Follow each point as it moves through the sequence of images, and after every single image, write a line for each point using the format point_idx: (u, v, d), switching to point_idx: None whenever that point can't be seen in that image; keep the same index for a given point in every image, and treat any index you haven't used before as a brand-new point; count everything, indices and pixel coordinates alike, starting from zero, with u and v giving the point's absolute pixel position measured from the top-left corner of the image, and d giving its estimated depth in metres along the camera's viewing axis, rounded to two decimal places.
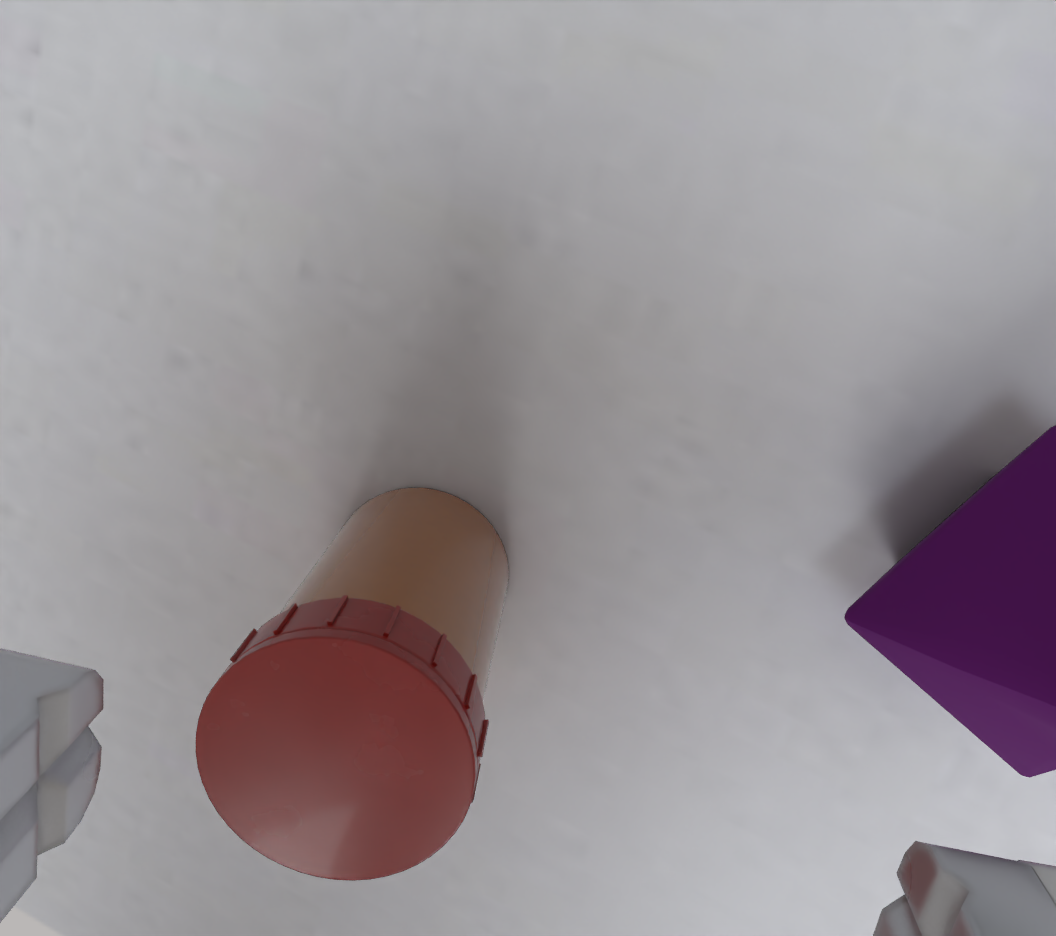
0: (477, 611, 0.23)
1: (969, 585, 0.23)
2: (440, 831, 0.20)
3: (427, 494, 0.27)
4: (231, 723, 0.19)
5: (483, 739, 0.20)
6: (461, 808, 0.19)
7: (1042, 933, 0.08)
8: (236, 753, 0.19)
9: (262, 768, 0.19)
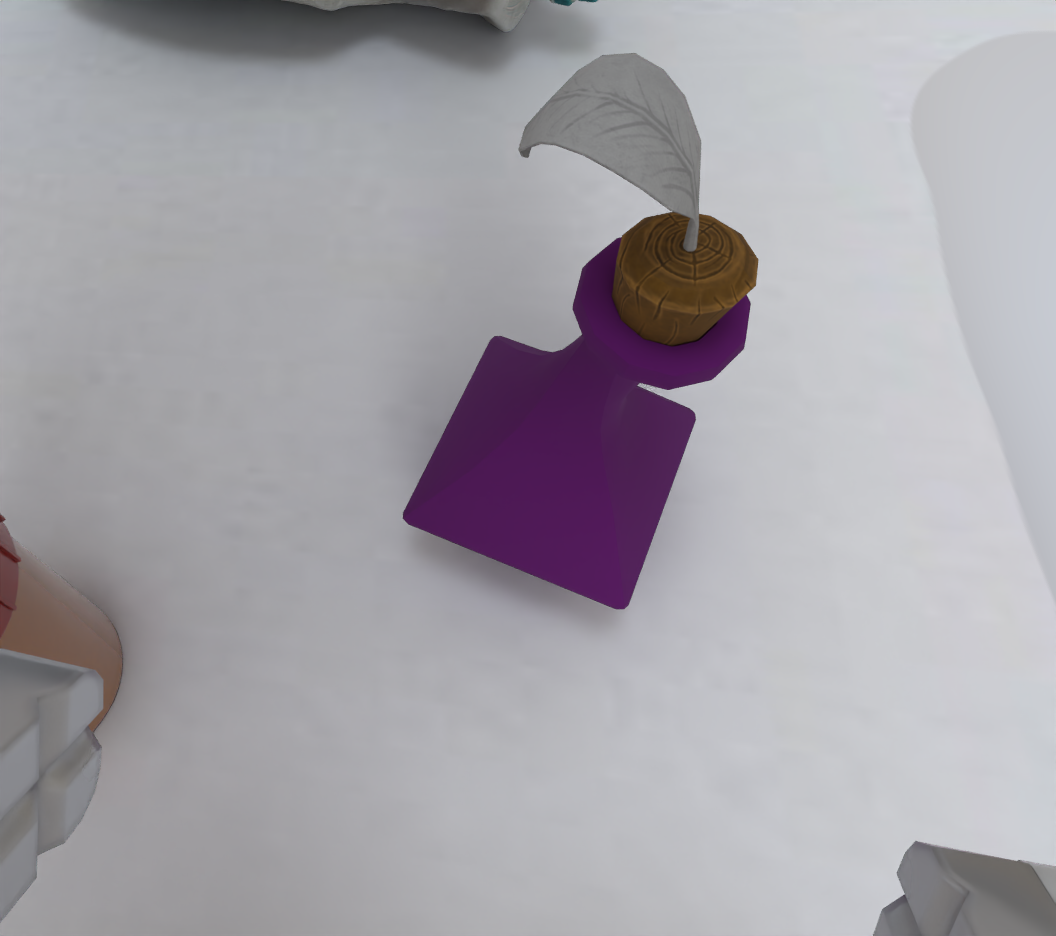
0: (39, 560, 0.25)
1: (464, 428, 0.28)
2: None
3: None
4: None
5: (5, 546, 0.21)
6: None
7: (1042, 933, 0.08)
8: None
9: None
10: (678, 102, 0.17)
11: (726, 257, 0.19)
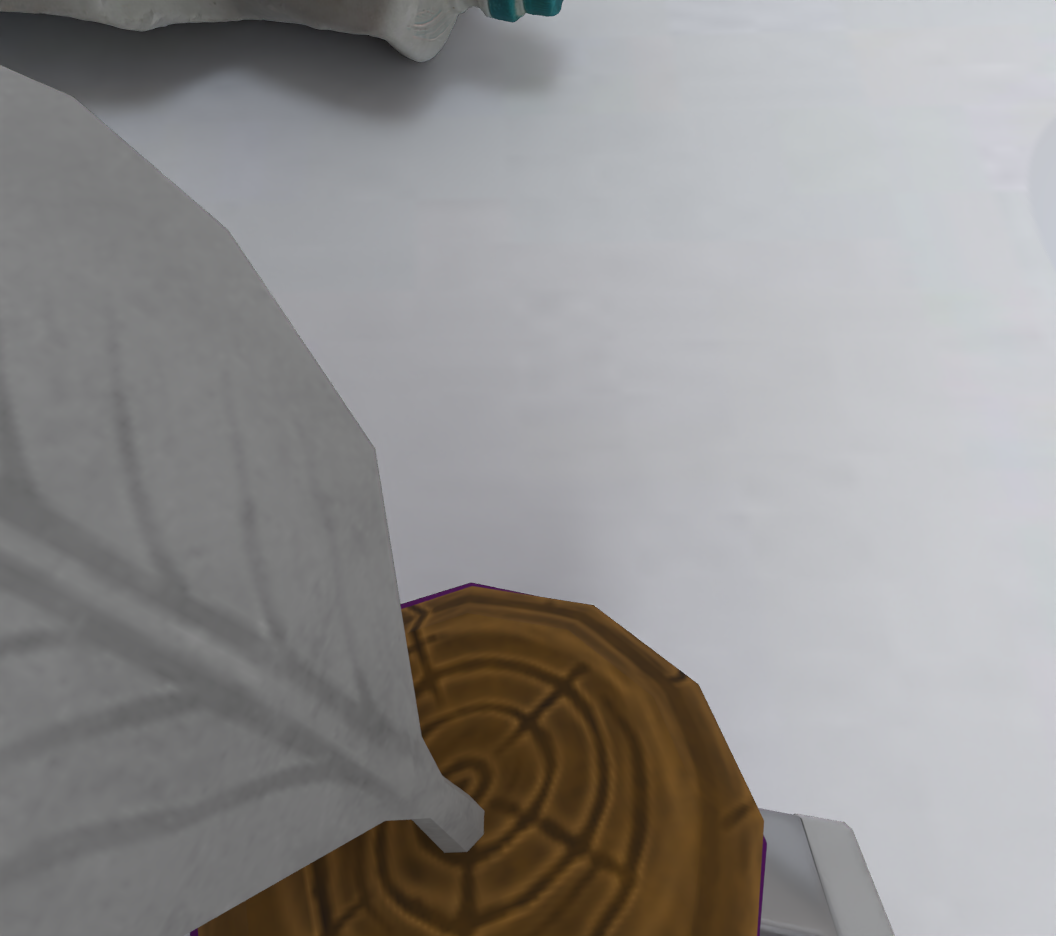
0: None
1: None
2: None
3: None
4: None
5: None
6: None
7: (788, 880, 0.08)
8: None
9: None
10: (175, 269, 0.03)
11: (611, 875, 0.04)
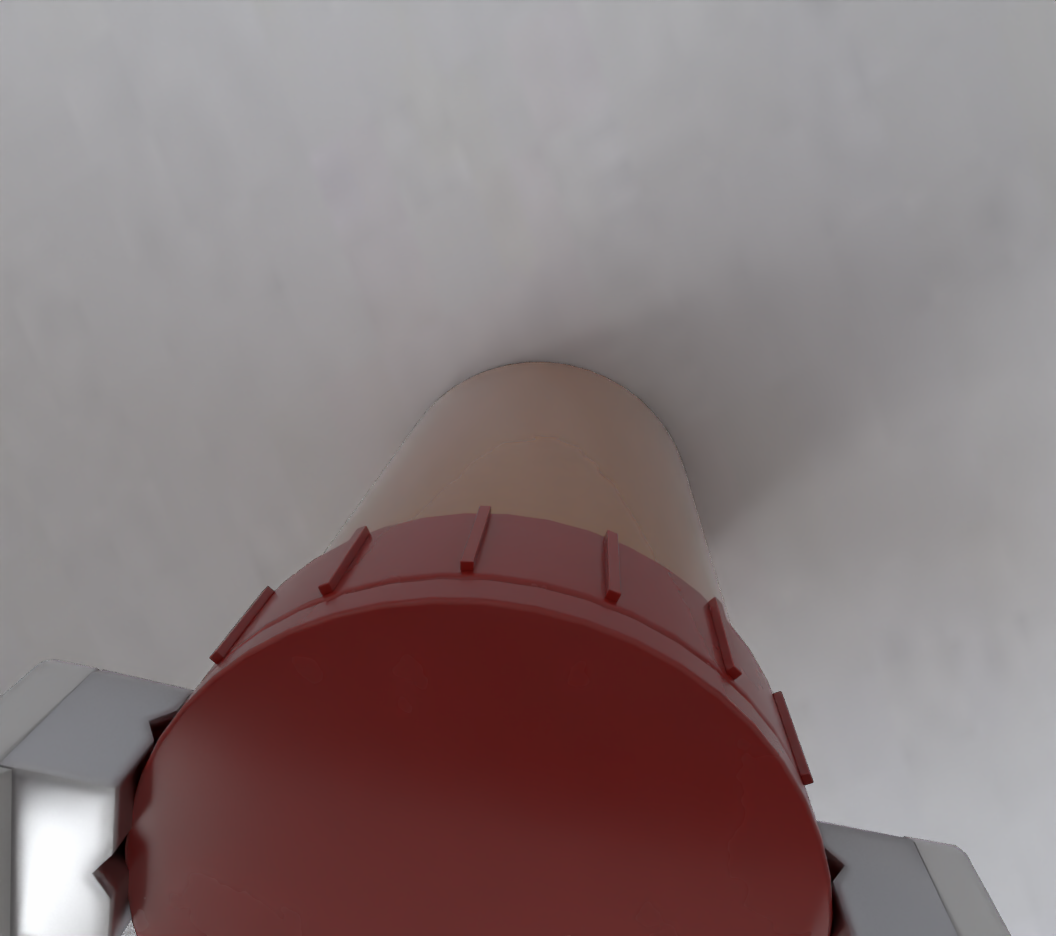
0: None
1: None
2: None
3: (665, 433, 0.16)
4: (354, 695, 0.07)
5: None
6: None
7: (913, 906, 0.08)
8: (298, 752, 0.07)
9: (317, 818, 0.07)
10: None
11: None
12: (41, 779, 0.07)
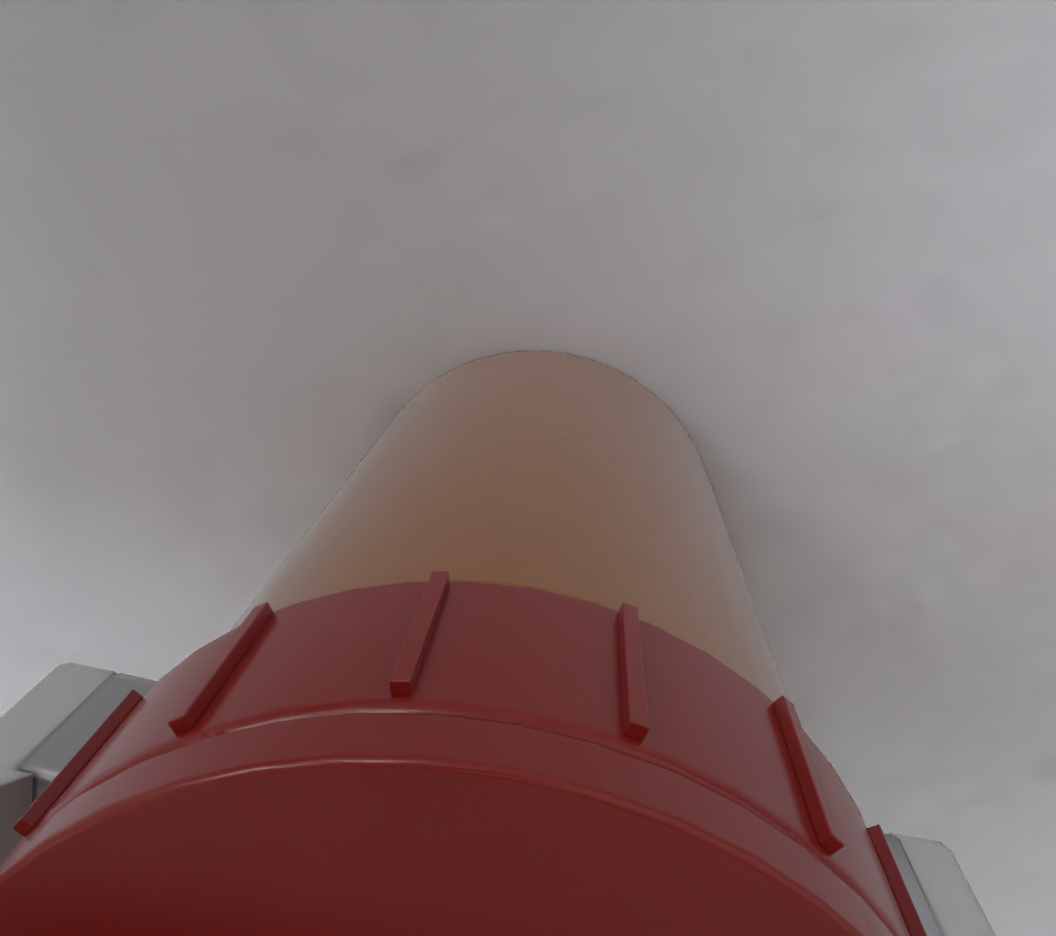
0: None
1: None
2: None
3: None
4: (220, 907, 0.04)
5: None
6: None
7: None
8: None
9: None
10: None
11: None
12: None
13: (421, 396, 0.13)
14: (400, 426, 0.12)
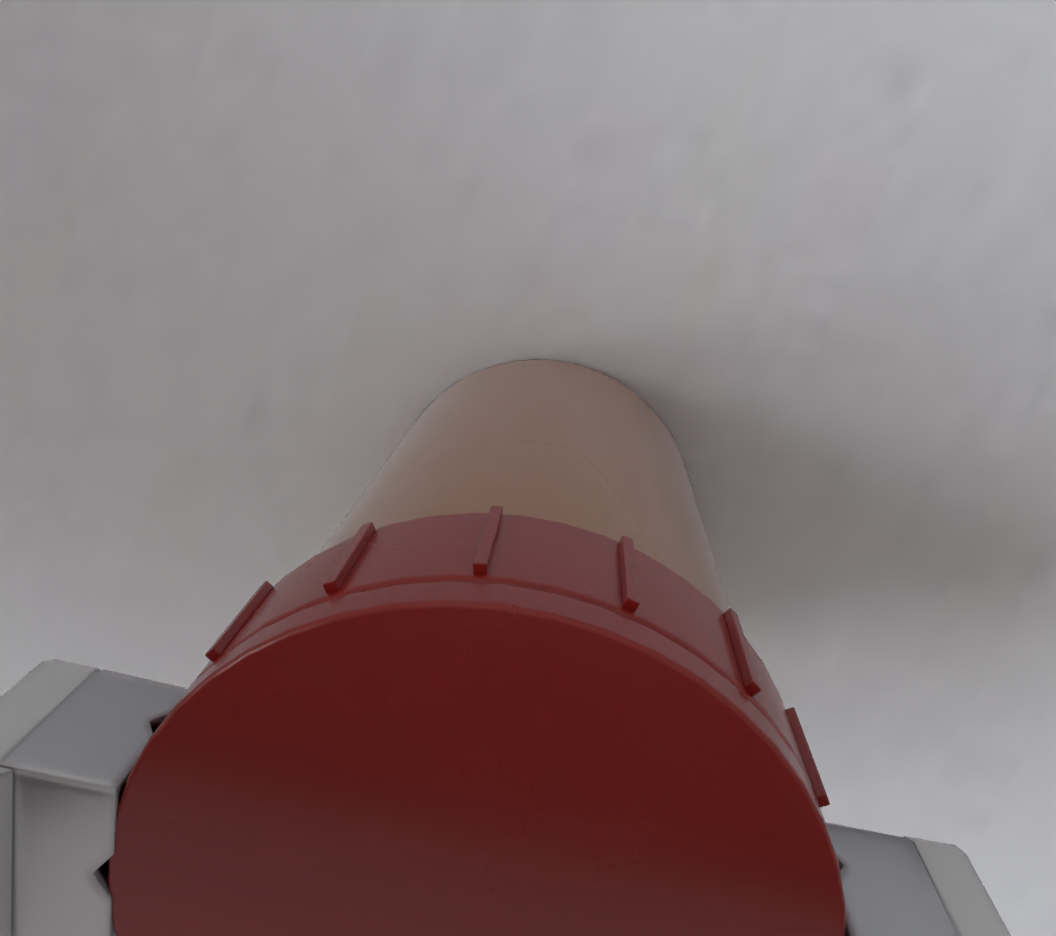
0: None
1: None
2: (809, 920, 0.07)
3: None
4: None
5: (740, 651, 0.08)
6: (809, 838, 0.07)
7: (912, 906, 0.08)
8: None
9: None
10: None
11: None
12: (42, 779, 0.07)
13: None
14: None
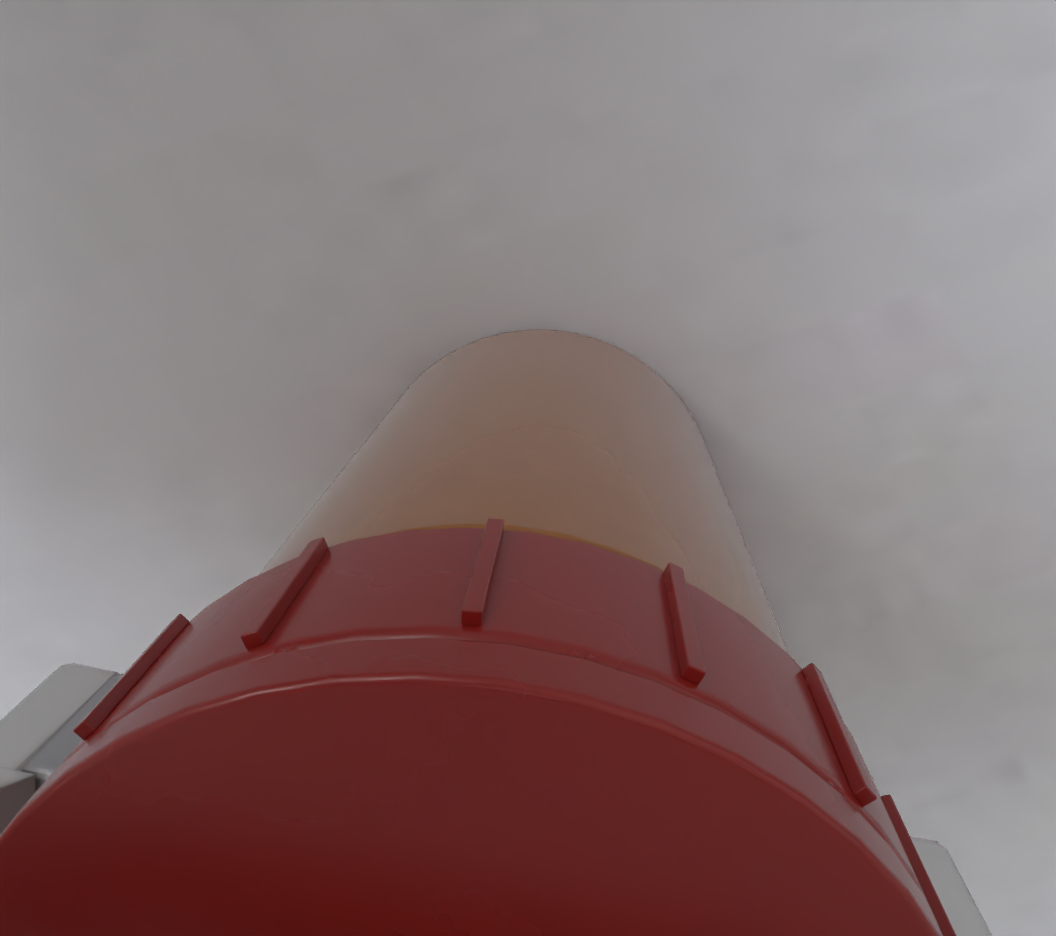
0: None
1: None
2: None
3: None
4: None
5: (838, 733, 0.05)
6: None
7: None
8: None
9: None
10: None
11: None
12: None
13: (432, 370, 0.13)
14: (414, 396, 0.12)
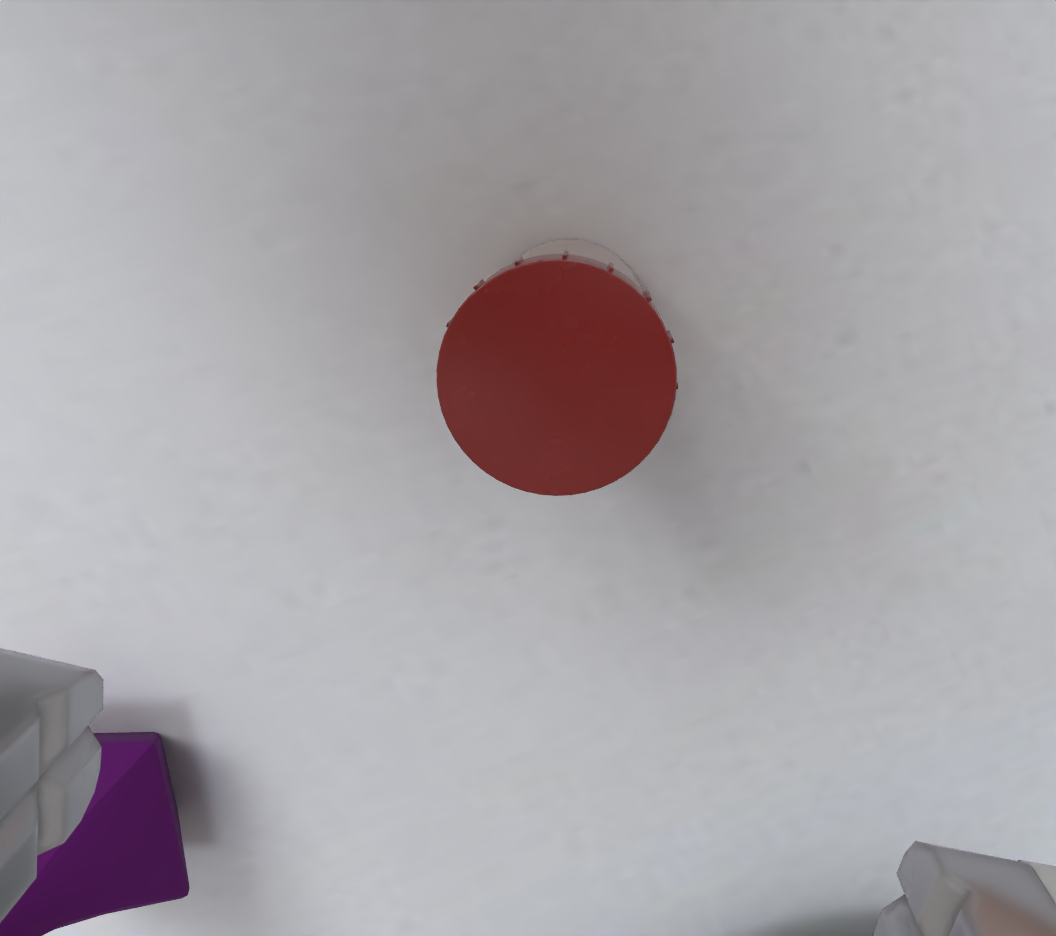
0: None
1: (131, 832, 0.35)
2: (665, 373, 0.22)
3: None
4: (468, 409, 0.23)
5: (647, 294, 0.23)
6: (664, 342, 0.22)
7: (1042, 933, 0.08)
8: (488, 429, 0.23)
9: (513, 427, 0.23)
10: None
11: None
12: None
13: (523, 254, 0.31)
14: None
